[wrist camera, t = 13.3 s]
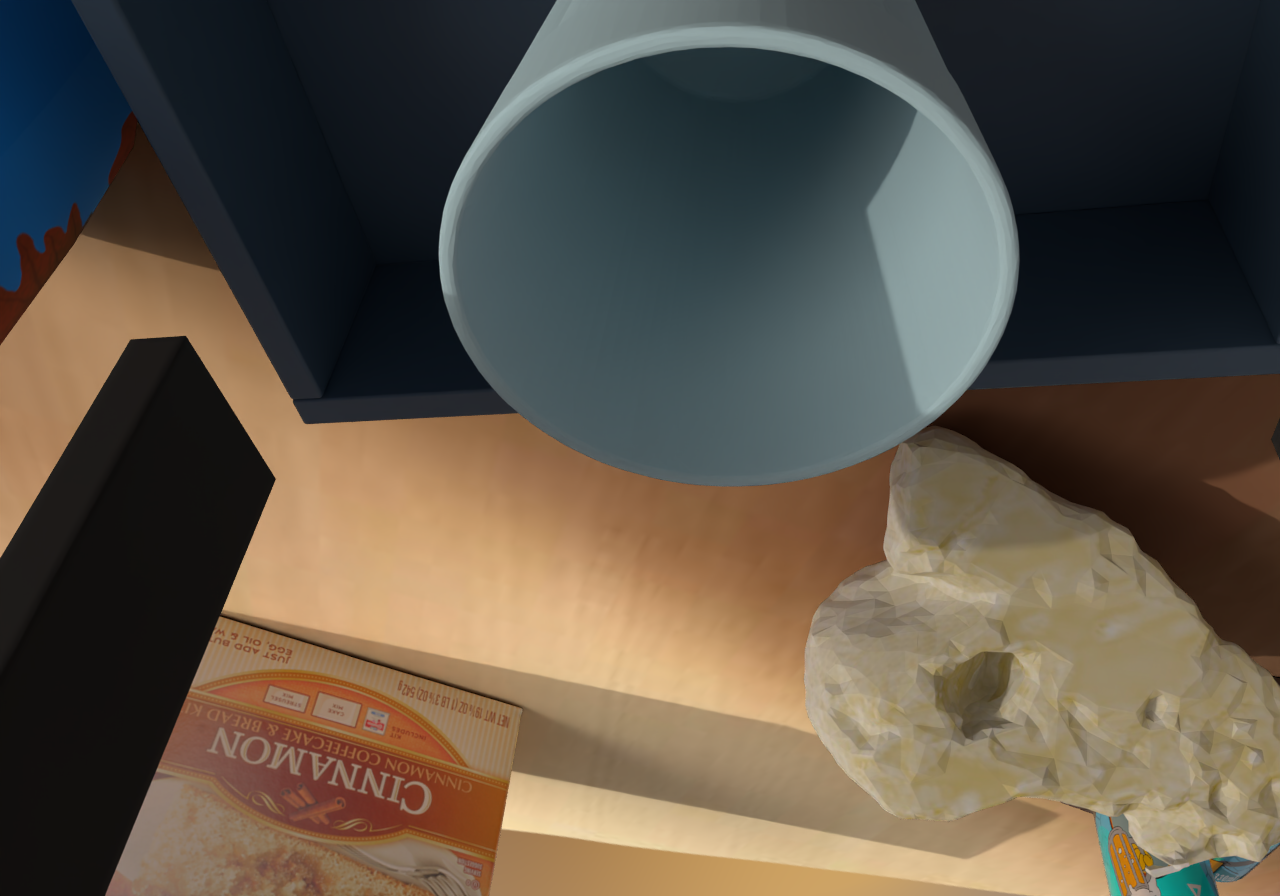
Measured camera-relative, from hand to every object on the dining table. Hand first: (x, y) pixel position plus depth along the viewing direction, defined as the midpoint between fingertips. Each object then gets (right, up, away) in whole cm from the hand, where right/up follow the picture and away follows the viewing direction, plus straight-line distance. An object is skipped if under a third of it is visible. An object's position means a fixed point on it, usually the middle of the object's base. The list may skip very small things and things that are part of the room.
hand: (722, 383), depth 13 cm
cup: (+1, +9, +9) cm, 12 cm away
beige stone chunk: (+13, -4, +22) cm, 26 cm away
